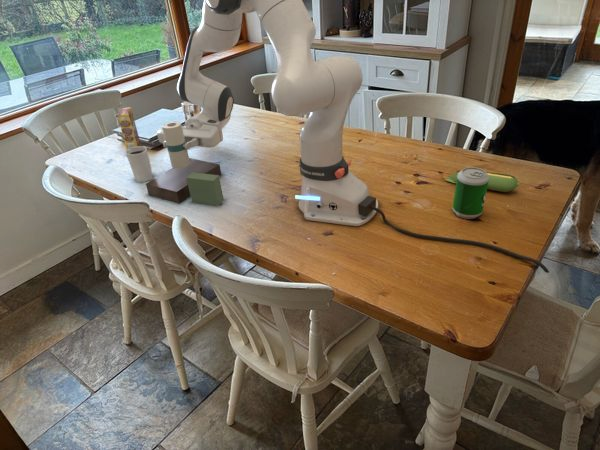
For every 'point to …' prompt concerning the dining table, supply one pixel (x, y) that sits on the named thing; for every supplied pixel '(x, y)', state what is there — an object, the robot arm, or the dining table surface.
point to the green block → (205, 188)
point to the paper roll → (176, 144)
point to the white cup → (140, 163)
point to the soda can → (470, 192)
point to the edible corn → (495, 181)
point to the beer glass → (190, 110)
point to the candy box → (128, 128)
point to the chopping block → (179, 180)
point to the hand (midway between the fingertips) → (175, 146)
